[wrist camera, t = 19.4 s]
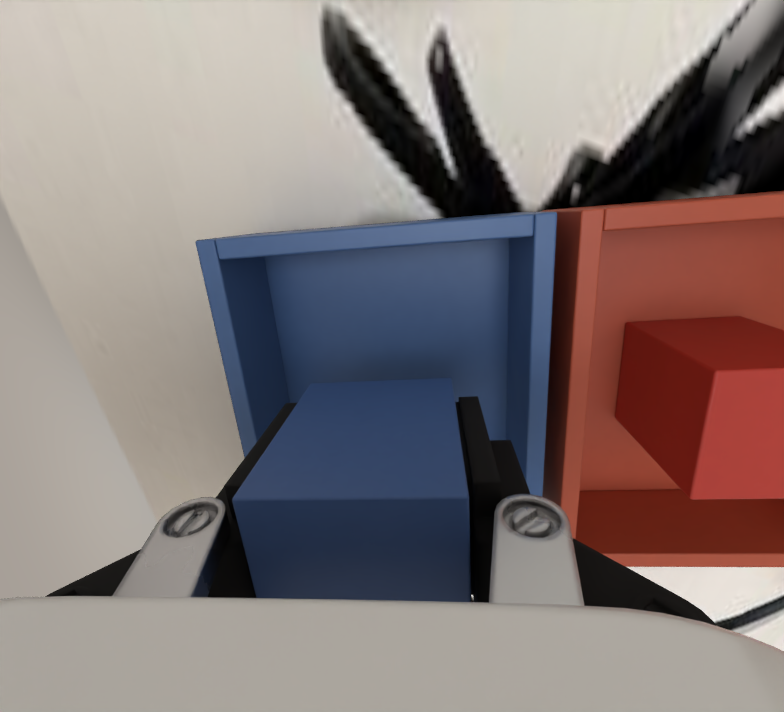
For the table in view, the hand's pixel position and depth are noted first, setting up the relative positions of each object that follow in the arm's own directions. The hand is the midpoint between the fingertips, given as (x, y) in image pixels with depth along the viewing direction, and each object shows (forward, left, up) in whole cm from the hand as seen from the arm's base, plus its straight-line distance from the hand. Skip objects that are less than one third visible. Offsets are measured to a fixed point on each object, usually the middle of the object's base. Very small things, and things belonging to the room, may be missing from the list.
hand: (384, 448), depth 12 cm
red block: (+11, 0, -5) cm, 12 cm away
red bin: (+11, 0, -6) cm, 12 cm away
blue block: (0, 0, 0) cm, 0 cm away
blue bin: (0, 0, -6) cm, 6 cm away
